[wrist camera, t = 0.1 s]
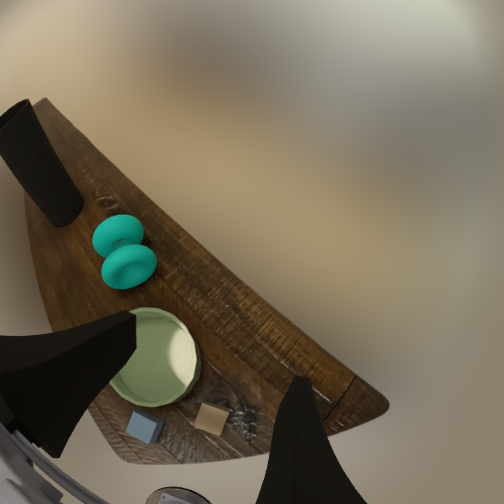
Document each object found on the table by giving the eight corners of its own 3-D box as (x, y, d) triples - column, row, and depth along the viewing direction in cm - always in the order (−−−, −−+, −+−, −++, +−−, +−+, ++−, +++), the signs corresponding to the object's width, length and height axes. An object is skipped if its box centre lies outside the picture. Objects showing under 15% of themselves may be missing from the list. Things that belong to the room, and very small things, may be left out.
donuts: (147, 233, 51) (130, 202, 42) (165, 274, 47) (149, 246, 38) (104, 256, 48) (82, 229, 39) (119, 298, 44) (93, 276, 35)
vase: (53, 234, 50) (-17, 143, 24) (50, 206, 54) (-7, 121, 28) (86, 213, 53) (25, 110, 27) (81, 187, 57) (31, 93, 31)
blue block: (156, 440, 33) (148, 444, 29) (135, 429, 33) (125, 432, 30) (164, 420, 35) (156, 423, 31) (142, 409, 35) (133, 411, 32)
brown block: (222, 432, 34) (219, 436, 31) (197, 422, 35) (193, 426, 31) (230, 410, 36) (229, 412, 33) (206, 401, 37) (202, 402, 33)
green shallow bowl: (182, 420, 35) (175, 424, 31) (103, 378, 37) (88, 376, 33) (215, 336, 42) (212, 330, 38) (136, 303, 44) (125, 293, 40)
